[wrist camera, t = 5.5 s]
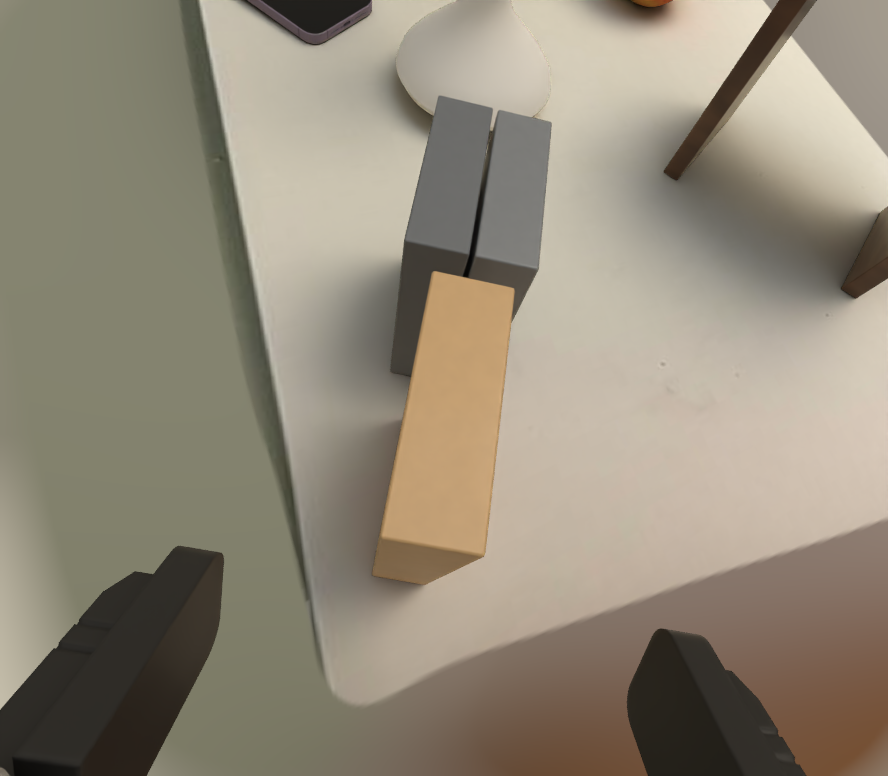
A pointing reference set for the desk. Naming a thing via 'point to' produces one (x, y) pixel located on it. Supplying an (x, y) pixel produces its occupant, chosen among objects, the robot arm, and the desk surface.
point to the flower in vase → (475, 59)
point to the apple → (651, 2)
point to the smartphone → (315, 16)
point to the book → (448, 433)
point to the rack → (884, 245)
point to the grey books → (472, 210)
